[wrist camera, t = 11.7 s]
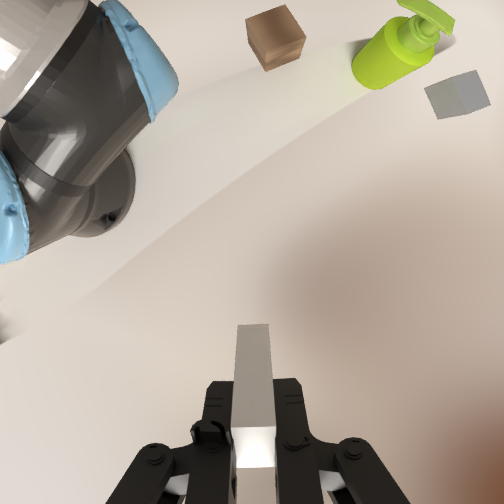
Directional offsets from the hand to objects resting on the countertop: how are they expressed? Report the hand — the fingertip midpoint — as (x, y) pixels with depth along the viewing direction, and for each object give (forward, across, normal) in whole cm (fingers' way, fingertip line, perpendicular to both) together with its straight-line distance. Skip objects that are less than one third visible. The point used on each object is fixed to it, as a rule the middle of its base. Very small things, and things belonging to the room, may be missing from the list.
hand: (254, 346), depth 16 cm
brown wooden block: (+30, +4, +23) cm, 38 cm away
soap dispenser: (+29, +17, +21) cm, 40 cm away
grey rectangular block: (+29, +29, +18) cm, 44 cm away
